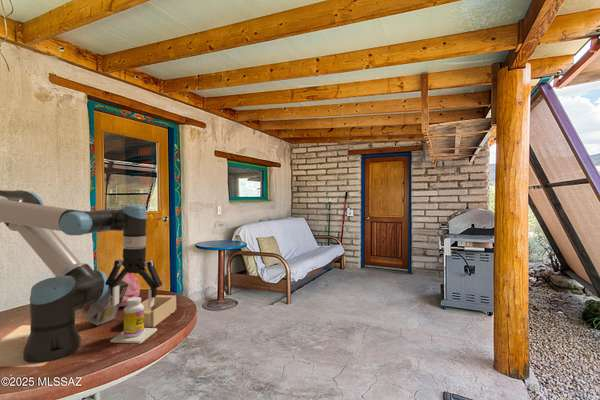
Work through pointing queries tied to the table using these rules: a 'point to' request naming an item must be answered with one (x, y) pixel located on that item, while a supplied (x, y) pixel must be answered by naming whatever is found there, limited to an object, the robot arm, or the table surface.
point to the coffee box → (106, 306)
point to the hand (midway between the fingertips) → (133, 305)
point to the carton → (158, 309)
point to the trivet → (136, 339)
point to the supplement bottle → (133, 317)
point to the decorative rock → (130, 288)
